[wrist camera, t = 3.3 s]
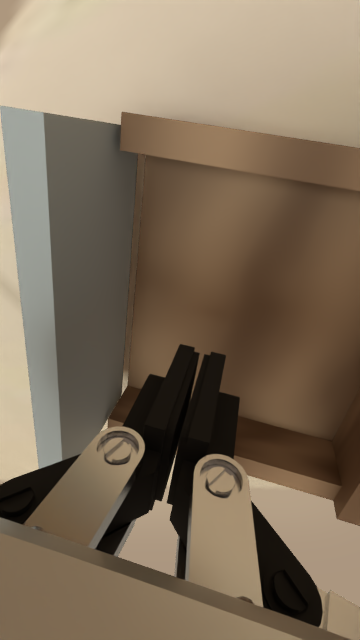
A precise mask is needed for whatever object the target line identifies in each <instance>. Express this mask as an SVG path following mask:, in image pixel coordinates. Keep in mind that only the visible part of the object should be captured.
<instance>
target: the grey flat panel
mask: <svg viewBox="0 0 360 640" xmlns="http://www.w3.org/2000/svg"><path fill="white" fill-rule="evenodd" d="M0 112H1V122H2V131H3V140H4V149H5V159H6V168H7V177H8V187H9V196H10V205H11V214H12V224H13V233H14V242H15V252H16V261H17V270H18V279H19V289H20V298H21V307H22V316H23V326H24V335H25V344H26V354H27V363H28V372H29V381H30V391H31V400H32V409H33V418H34V428H35V437H36V446H37V456H38V465H39V469H41V468H43V467H46V466H49V465H51V464H54V463H57V462H60V461H62V460H65V459H68V458H70V457H73V456H76V455H79V454H81V453H82V452H83V451H84V450H85V449H86V448H87V446H88V445H89V444H90V443H91V441H92V440H93V439H94V438H95V437H96V436H97V435H98V434H99V433H100V431H101V429H102V428H103V426H104V424H105V423H106V421H107V419H108V418H109V416H110V414H111V412H112V411H113V409H114V407H115V406H116V404H117V402H118V401H119V399H120V397H121V394H122V379H123V365H124V350H125V335H126V321H127V306H128V292H129V277H130V262H131V248H132V233H133V218H134V204H135V189H136V174H137V160H138V153H133V152H127V151H121V150H120V138H121V125H117V124H111V123H105V122H99V121H93V120H87V119H80V118H74V117H68V116H62V115H56V114H50V113H43V112H37V111H31V110H25V109H18V108H12V107H6V106H0Z"/></svg>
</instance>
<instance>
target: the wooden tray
mask: <svg viewBox="0 0 360 640" xmlns="http://www.w3.org/2000/svg"><path fill="white" fill-rule="evenodd" d="M120 150H121V151H127V152H133V153H139V154H145V155H146V159H145V171H144V184H143V197H142V209H141V222H140V235H139V247H138V260H137V273H136V285H135V298H134V311H133V323H132V336H131V349H130V361H129V374H128V386H127V387H126V389H125V391H124V393H123V394H122V396H121V398H120V399H119V401H118V403H117V404H116V406H115V408H114V409H113V411H112V413H111V414H110V416H109V418H108V428H111V427H116V426H119V427H122V426H123V424H124V422H125V420H126V418H127V416H128V414H129V412H130V410H131V408H132V406H133V404H134V402H135V400H136V399H137V397H138V395H139V393H140V391H141V389H142V387H143V385H144V383H145V381H146V379H147V377H148V376H149V374H153V375H157V376H161V377H166V375H167V372H168V370H169V368H170V365H171V363H172V361H173V359H174V356H175V354H176V352H177V349H178V347H179V345H180V344H183V345H187V346H191V347H195V351H194V352H198V353H200V355H199V360H198V365H197V370H196V375H195V380H194V385H193V390H194V387H195V384H196V380H197V377H198V374H199V370H200V367H201V364H202V360H203V357H204V354H207V355H210V354H211V352H215V353H220V354H224V355H226V359H225V364H224V369H223V374H222V380H221V385H220V390H219V392H222V393H226V394H230V395H234V396H238V397H240V402H239V412H238V422H237V431H236V441H235V451H234V460H235V461H237V462H238V463H239V464H240V465H241V466H242V467H243V469H244V471H245V472H246V474H247V475H249V476H252V477H256V478H259V479H262V480H266V481H269V482H273V483H276V484H279V485H283V486H286V487H289V488H293V489H296V490H299V491H303V492H306V493H310V494H313V495H317V496H320V497H323V498H326V499H330V500H333V501H334V507H335V512H336V517H337V519H339V520H342V521H345V522H349V523H352V524H355V525H358V526H360V148H355V147H348V146H342V145H335V144H329V143H322V142H316V141H309V140H303V139H296V138H290V137H283V136H277V135H270V134H263V133H257V132H250V131H244V130H237V129H231V128H224V127H218V126H211V125H205V124H198V123H192V122H185V121H178V120H172V119H165V118H159V117H152V116H146V115H139V114H133V113H126V112H122V116H121V138H120ZM193 390H192V394H193ZM192 394H191V397H192ZM190 400H191V399H190ZM177 449H178V448H177ZM176 454H177V451H176Z"/></svg>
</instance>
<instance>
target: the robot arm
mask: <svg viewBox="0 0 360 640" xmlns="http://www.w3.org/2000/svg"><path fill="white" fill-rule="evenodd" d="M194 351H195V347H191V346H187V345H183V344H180V345H179V347H178V349H177V352H176V354H175V356H174V359H173V361H172V363H171V365H170V368H169V370H168V372H167V375H166V377H161V376H157V375H153V374H149V376H148V377H147V379H146V381H145V383H144V385H143V387H142V389H141V391H140V393H139V395H138V397H137V399H136V400H135V402H134V404H133V406H132V408H131V410H130V412H129V414H128V416H127V418H126V420H125V422H124V424H123V426H122V427H119V426H116V427H111V428H107V429H105V430H103V431H101V432H100V433H99V434H98V435H97V436H96V437H95V438H94V439H93V440H92V441H91V443H90V444H89V445H88V446H87V448H86V449H85V450H84V451H83V452H82V453H81V454H79V455H76V456H73V457H70V458H68V459H65V460H62V461H60V462H57V463H54V464H51V465H49V466H46V467H43V468H41V469H38V470H35V471H32V472H30V473H27V474H24V475H22V476H19V477H16V478H13V479H11V480H9V481H7V482H5V483H3V484H0V640H360V607H359V606H357V605H355V604H354V603H352V602H350V601H348V600H346V599H345V598H343V597H342V596H340V595H338V594H336V593H335V592H333V591H331V590H330V591H329V592H328V593H326V592H325V591H323V590H321V589H319V588H318V587H317V586H316V585H315V583H314V581H313V580H312V578H311V577H310V575H309V574H308V573H307V571H306V570H305V569H304V568H303V566H302V565H301V564H300V562H299V561H298V560H297V559H296V557H295V556H294V555H293V553H292V552H291V551H290V550H289V548H288V547H287V546H286V544H285V543H284V542H283V541H282V539H281V538H280V537H279V535H278V534H277V533H276V532H275V531H274V529H273V528H272V527H271V525H270V524H269V523H268V521H267V520H266V519H265V518H264V517H263V515H262V514H261V512H260V511H259V510H258V509H257V507H256V506H255V505H254V504H253V502H252V501H251V496H250V487H249V481H248V477H247V474H246V472H245V471H244V469H243V467H242V466H241V465H240V464H239V463H238V462H237V461H235V460H234V451H235V441H236V431H237V422H238V412H239V402H240V397H238V396H234V395H230V394H226V393H222V392H219V390H220V385H221V380H222V374H223V369H224V364H225V359H226V355H224V354H220V353H215V352H211V354H210V355H207V354H204V357H203V360H202V364H201V367H200V370H199V374H198V377H197V380H196V384H195V387H194V390H193V385H194V380H195V375H196V370H197V365H198V360H199V355H200V353H198V352H194ZM192 390H193V394H192ZM191 394H192V397H191ZM190 399H191V400H190ZM177 448H178V449H177ZM176 451H177V454H176ZM175 455H176V459H175V464H174V469H173V474H172V479H171V485H170V490H169V495H168V500H167V503H168V504H172V505H173V506H172V511H171V516H170V521H171V523H172V524H173V526H174V528H175V530H176V532H177V534H178V540H177V550H176V563H175V575H174V576H171V575H168V574H165V573H162V572H159V571H157V570H153V569H151V568H148V567H145V566H142V565H139V564H136V563H133V562H131V561H127V560H125V559H122V558H119V557H118V556H119V553H120V551H121V550H122V548H123V546H124V544H125V542H126V540H127V538H128V536H129V534H130V532H131V530H132V528H133V526H134V524H135V521H136V519H137V518H139V517H141V516H143V515H144V514H147V513H148V512H149V510H152V508H153V505H154V502H155V500H159V501H162V499H163V495H164V492H165V488H166V485H167V482H168V478H169V475H170V472H171V468H172V465H173V461H174V458H175Z"/></svg>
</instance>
